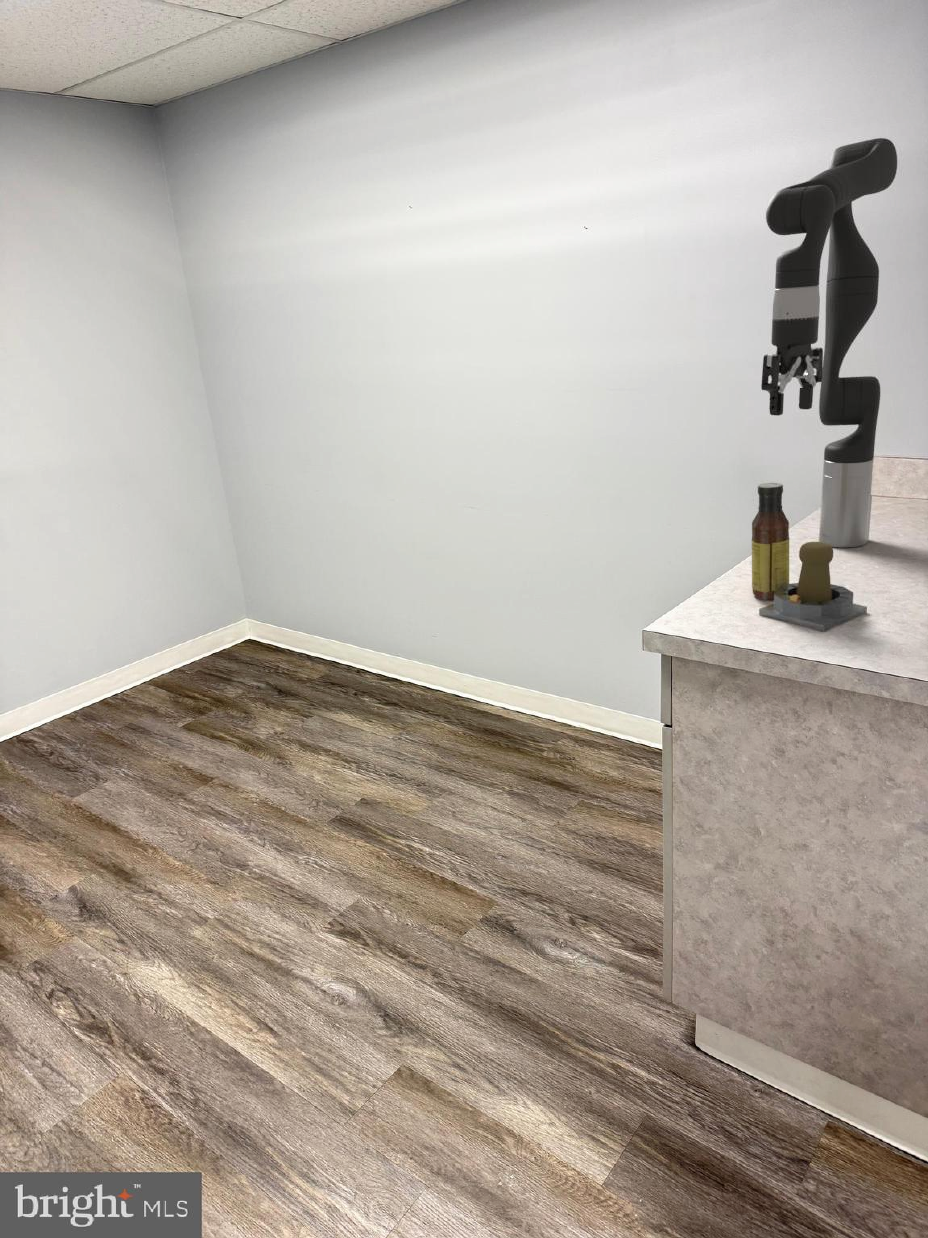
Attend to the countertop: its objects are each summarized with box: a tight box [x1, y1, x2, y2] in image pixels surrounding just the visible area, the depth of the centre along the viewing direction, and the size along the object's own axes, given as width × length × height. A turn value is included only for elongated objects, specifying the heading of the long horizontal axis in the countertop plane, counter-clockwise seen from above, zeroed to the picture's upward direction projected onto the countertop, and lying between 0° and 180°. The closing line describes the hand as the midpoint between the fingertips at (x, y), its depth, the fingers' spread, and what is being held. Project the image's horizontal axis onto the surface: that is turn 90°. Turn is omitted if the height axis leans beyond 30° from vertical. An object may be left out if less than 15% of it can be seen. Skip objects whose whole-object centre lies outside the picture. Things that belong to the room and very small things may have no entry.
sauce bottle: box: [751, 482, 790, 601], centre depth 155 cm, size 6×6×20 cm
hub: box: [758, 582, 868, 633], centre depth 148 cm, size 12×12×4 cm
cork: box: [796, 541, 834, 602], centre depth 147 cm, size 6×6×11 cm
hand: (791, 411), depth 159 cm, fingers open, 8 cm apart
